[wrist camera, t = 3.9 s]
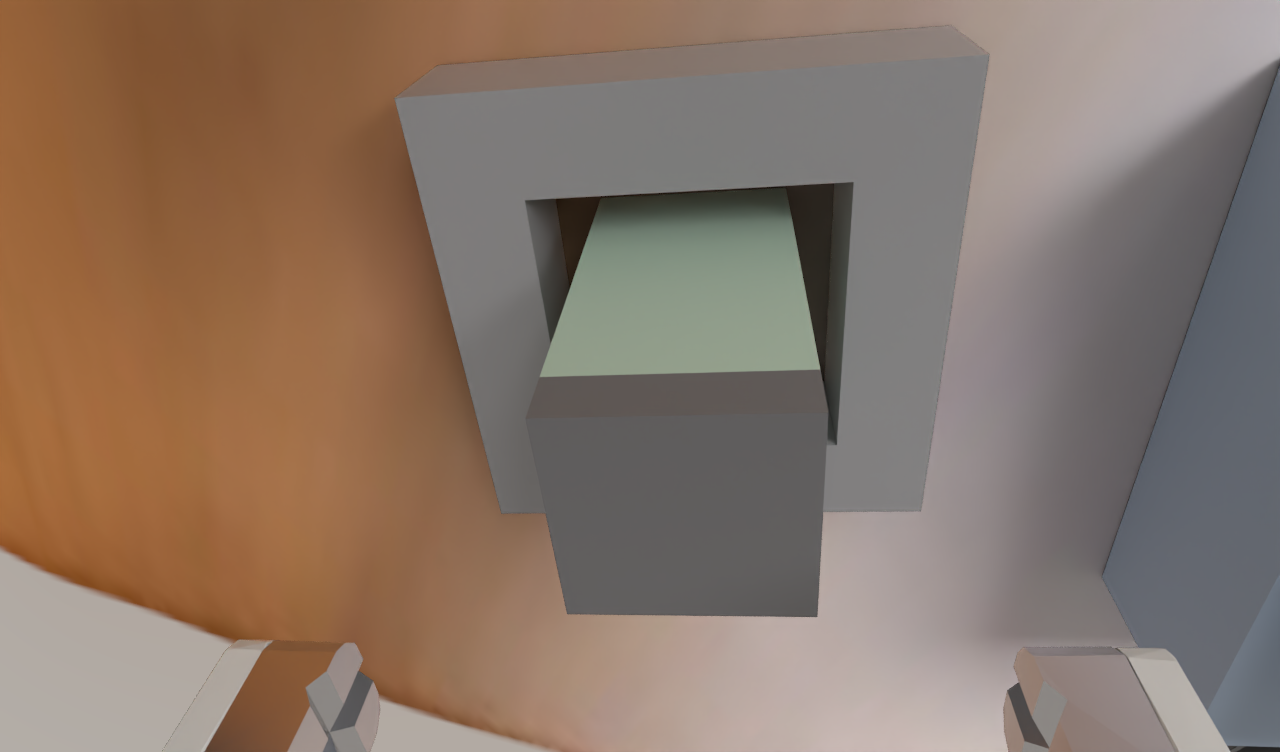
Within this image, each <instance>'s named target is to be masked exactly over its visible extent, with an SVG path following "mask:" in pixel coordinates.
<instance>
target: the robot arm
mask: <svg viewBox="0 0 1280 752" xmlns="http://www.w3.org/2000/svg"><path fill="white" fill-rule="evenodd" d="M362 661H363V657H362V656H361V654H360V652H359V650H358V648H357V646H356V644H355V643H346V642H314V641H281V640H237V641H236V642H235V643H234V644H232V645H231V646H230V647H229V648H227V649H226V650H225V652H224V653H223V655H222V656H221V658H220V660H219V661H218V663H217V664H216V666H215V667H214V669H213V671H212V672H211V674H210V675H209V677H208V679H207V680H206V682H205V684H204V685H203V687H202V688H201V690H200V691H199V693H198V695H197V696H196V698H195V699H194V701H193V703H192V704H191V706H190V707H189V709H188V710H187V712H186V714H185V715H184V717H183V719H182V720H181V722H180V723H179V725H178V726H177V728H176V730H175V731H174V733H173V734H172V736H171V738H170V739H169V741H168V742H167V744H166V746H165V747H164V749H163V750H162V752H370V751H371V748H372V745H373V742H374V740H375V737H376V734H377V728H378V722H379V715H380V704H379V695H378V691H377V689H376V687H375V684H374V682H373V681H372V680H371V679H370V678H368V677H367V676H365V675H364V674H362V673H361V672H360V671H358V670H359V668H360V666H361V663H362ZM1014 669H1015V672H1016V675H1017V678H1018V680H1019V683H1017V684H1016V685H1014V686H1013V687H1011V688H1010V689H1009V690H1007V694H1006V698H1005V703H1004V708H1003V713H1004V733H1005V737H1006V742H1007V747H1008V752H1230V750H1229V748H1228V747H1227V745H1226V743H1225V741H1224V740H1223V738H1222V736H1221V735H1220V733H1219V731H1218V729H1217V728H1216V726H1215V724H1214V723H1213V721H1212V719H1211V718H1210V716H1209V714H1208V712H1207V711H1206V709H1205V707H1204V706H1203V704H1202V702H1201V701H1200V699H1199V697H1198V695H1197V694H1196V692H1195V690H1194V689H1193V687H1192V685H1191V683H1190V682H1189V680H1188V678H1187V677H1186V675H1185V673H1184V672H1183V670H1182V668H1181V666H1180V665H1179V663H1178V661H1177V660H1176V658H1175V657H1174V656H1173V655H1172V654H1171V653H1170V652H1168V651H1167V650H1166V649H1163V648H1112V647H1023V648H1022V649H1021V650H1020V651H1019V652H1018V653H1017V657H1016V660H1015V663H1014Z"/></svg>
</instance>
